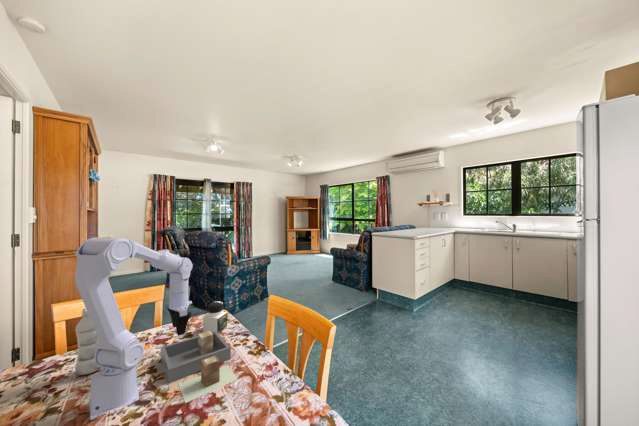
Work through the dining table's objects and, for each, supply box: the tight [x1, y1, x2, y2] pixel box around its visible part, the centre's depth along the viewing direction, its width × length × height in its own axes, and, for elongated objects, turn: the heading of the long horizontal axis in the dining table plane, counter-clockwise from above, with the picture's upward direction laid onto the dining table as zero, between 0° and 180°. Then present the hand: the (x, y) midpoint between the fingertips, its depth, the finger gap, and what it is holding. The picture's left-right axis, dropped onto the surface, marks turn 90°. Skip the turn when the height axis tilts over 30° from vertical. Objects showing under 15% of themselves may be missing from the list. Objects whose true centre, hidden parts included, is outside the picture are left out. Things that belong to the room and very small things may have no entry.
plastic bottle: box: [74, 307, 100, 376], centre depth 76 cm, size 6×7×20 cm
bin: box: [160, 331, 232, 384], centre depth 81 cm, size 18×16×4 cm
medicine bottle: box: [202, 300, 228, 335], centre depth 103 cm, size 7×7×12 cm
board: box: [178, 364, 238, 404], centre depth 70 cm, size 14×9×1 cm, turn 131°
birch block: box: [197, 331, 213, 355], centre depth 86 cm, size 4×4×6 cm
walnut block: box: [200, 355, 221, 388], centre depth 70 cm, size 4×4×6 cm
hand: (178, 330), depth 83 cm, fingers open, 7 cm apart
